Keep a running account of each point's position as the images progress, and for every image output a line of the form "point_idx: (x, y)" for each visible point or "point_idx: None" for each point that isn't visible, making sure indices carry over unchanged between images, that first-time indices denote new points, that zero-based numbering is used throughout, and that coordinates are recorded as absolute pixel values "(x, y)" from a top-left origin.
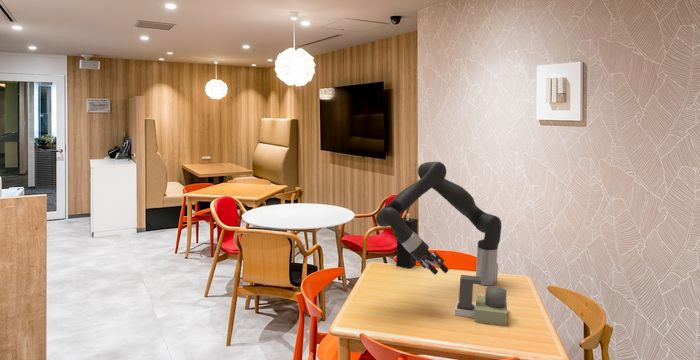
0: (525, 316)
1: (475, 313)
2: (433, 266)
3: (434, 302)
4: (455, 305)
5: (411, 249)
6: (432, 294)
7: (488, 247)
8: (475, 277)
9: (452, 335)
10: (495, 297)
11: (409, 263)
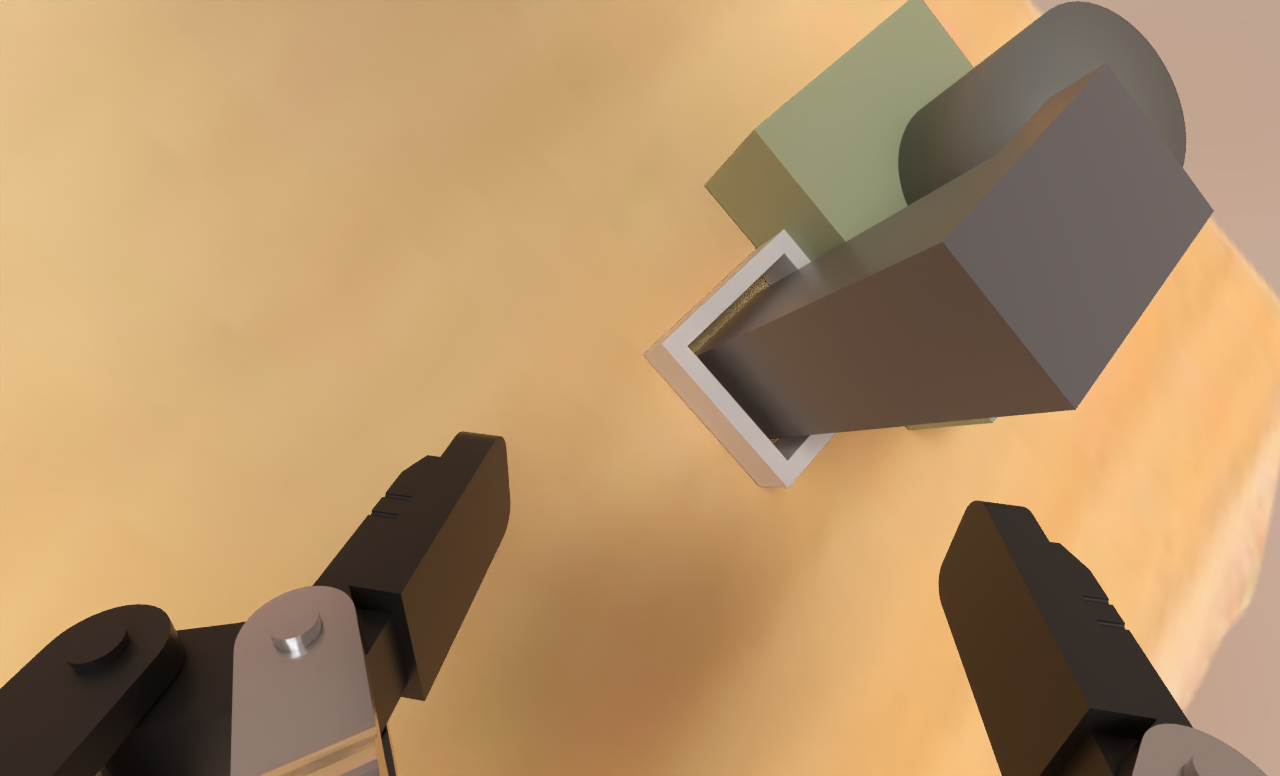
0: (968, 57)
1: (965, 422)
2: (427, 553)
3: (432, 450)
4: (726, 417)
5: None
6: (214, 304)
7: None
8: (1103, 154)
9: None
10: None
11: None
